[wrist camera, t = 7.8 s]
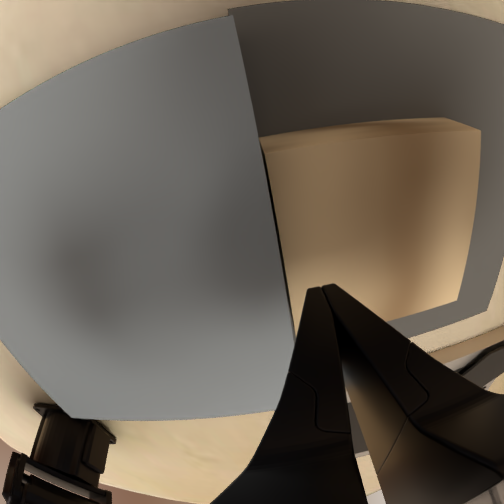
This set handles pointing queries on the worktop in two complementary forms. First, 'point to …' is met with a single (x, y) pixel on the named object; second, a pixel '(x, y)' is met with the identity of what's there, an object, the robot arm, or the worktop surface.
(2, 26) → the worktop surface
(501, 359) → the picture frame
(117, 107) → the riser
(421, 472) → the robot arm
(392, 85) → the rubber mat
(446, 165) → the coaster
